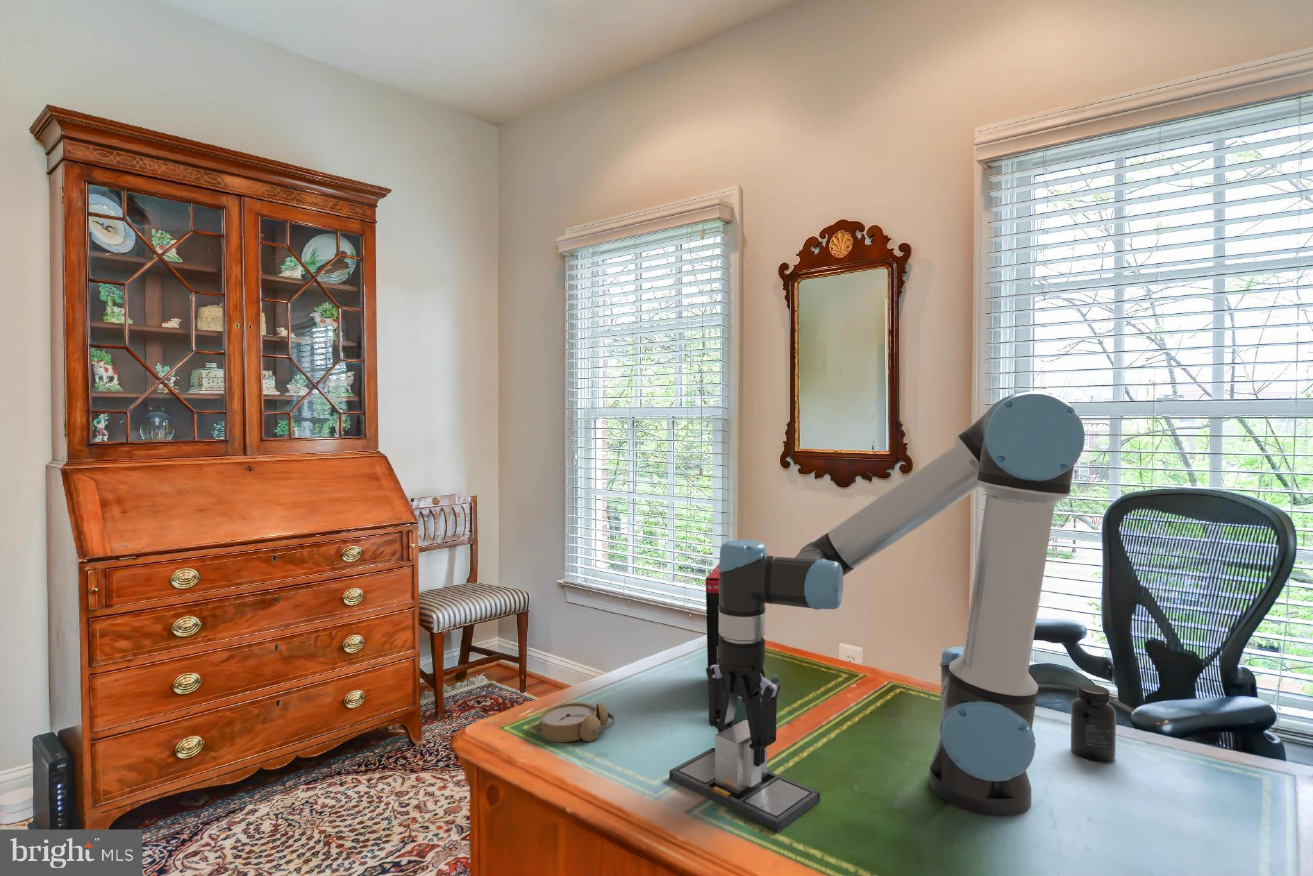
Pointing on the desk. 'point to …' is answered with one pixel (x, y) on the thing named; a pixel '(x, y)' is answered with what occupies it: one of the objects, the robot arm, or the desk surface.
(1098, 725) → the supplement bottle
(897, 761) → the desk surface
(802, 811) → the frame
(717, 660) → the graphics card box
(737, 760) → the grey metallic block
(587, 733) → the alarm clock
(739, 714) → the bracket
